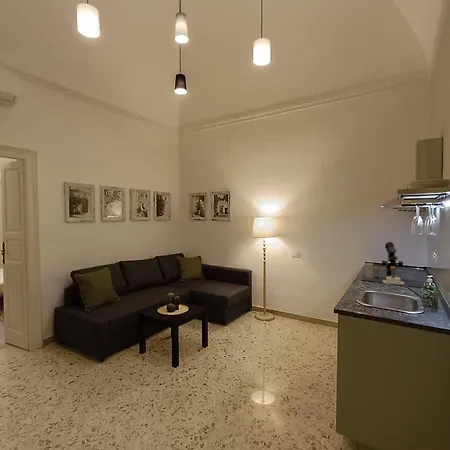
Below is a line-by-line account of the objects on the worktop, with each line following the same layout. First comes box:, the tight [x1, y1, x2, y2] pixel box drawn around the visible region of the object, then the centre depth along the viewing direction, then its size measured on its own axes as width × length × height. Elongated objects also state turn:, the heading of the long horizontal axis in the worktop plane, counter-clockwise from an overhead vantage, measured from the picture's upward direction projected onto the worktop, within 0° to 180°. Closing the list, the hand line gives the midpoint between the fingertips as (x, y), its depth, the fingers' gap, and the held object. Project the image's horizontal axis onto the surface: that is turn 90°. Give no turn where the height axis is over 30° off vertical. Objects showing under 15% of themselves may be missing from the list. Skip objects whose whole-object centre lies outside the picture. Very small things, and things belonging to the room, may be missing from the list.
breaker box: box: [382, 275, 405, 286], centre depth 289 cm, size 10×18×7 cm, turn 64°
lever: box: [391, 267, 396, 277], centre depth 291 cm, size 2×4×10 cm, turn 64°
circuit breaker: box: [363, 262, 381, 279], centre depth 313 cm, size 8×14×15 cm, turn 78°
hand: (392, 270), depth 294 cm, fingers closed
